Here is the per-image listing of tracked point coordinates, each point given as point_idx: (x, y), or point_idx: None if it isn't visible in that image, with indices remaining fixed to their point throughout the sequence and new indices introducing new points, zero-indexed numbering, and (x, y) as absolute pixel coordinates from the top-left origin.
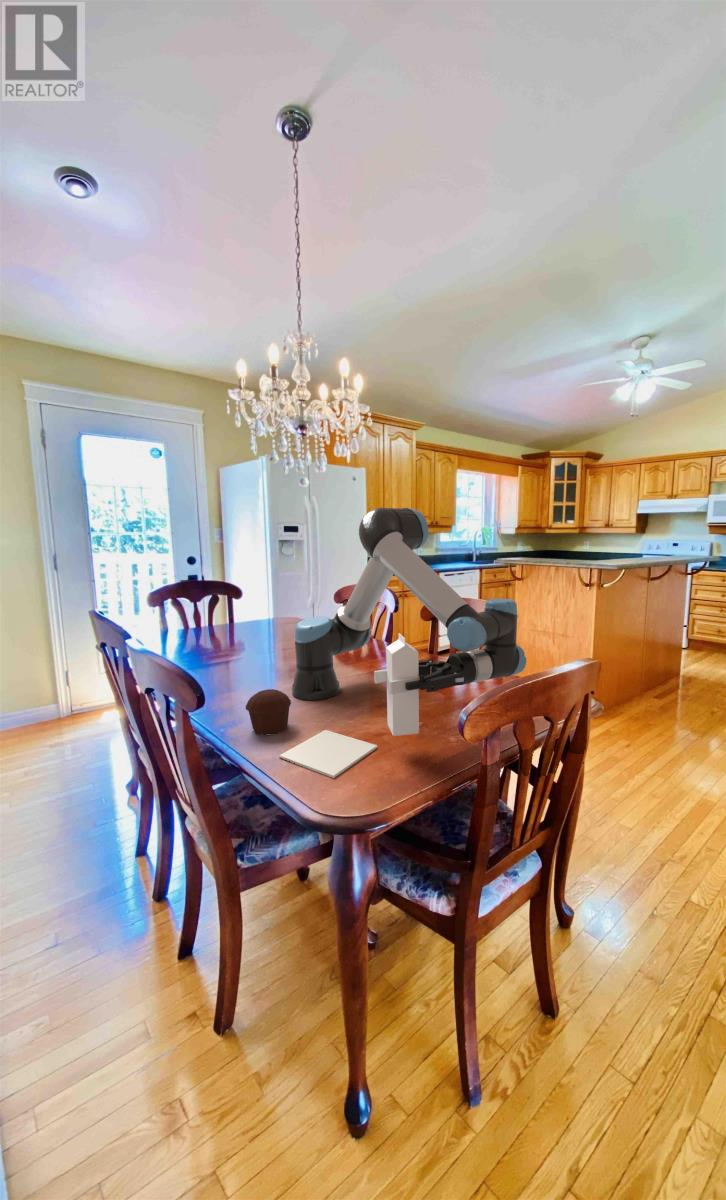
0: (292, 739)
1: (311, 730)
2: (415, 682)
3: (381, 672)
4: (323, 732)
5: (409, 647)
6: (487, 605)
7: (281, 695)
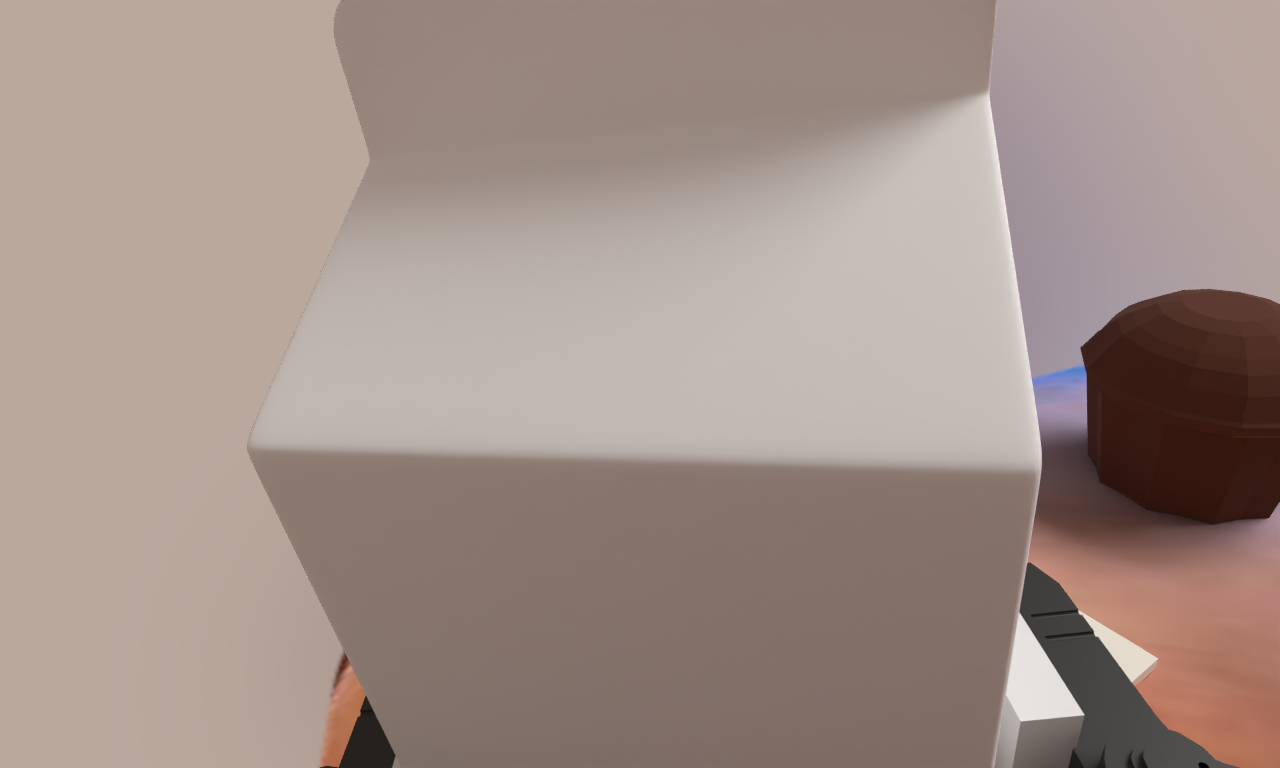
0: (1043, 531)
1: (1174, 609)
2: (366, 741)
3: None
4: (1110, 642)
5: (341, 233)
6: None
7: (1225, 354)
